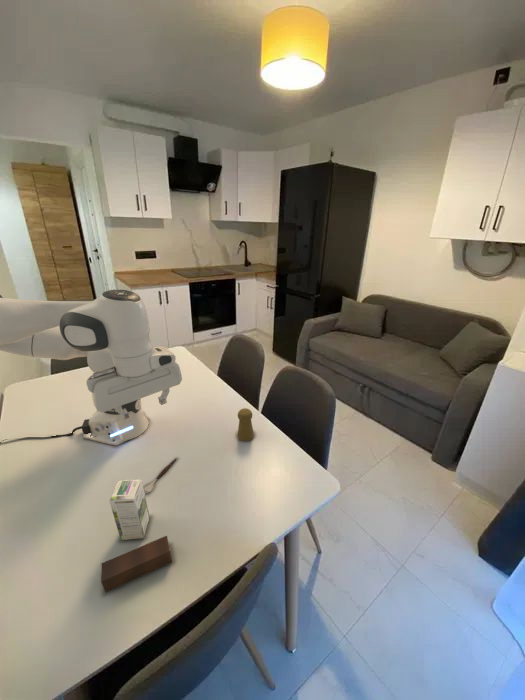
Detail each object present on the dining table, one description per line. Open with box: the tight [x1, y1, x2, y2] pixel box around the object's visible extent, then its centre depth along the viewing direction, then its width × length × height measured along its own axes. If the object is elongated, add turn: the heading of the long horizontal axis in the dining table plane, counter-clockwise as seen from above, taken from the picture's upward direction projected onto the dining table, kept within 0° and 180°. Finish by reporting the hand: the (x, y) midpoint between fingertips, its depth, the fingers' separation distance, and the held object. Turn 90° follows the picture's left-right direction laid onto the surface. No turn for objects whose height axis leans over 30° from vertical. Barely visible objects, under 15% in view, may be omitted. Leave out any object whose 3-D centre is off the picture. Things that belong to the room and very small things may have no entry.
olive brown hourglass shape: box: [237, 407, 255, 442], centre depth 104 cm, size 6×6×11 cm
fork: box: [143, 458, 177, 495], centre depth 89 cm, size 3×16×2 cm, turn 156°
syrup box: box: [109, 479, 151, 541], centre depth 72 cm, size 6×6×14 cm
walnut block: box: [100, 535, 173, 593], centre depth 66 cm, size 14×4×4 cm, turn 116°
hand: (144, 410), depth 72 cm, fingers open, 8 cm apart
